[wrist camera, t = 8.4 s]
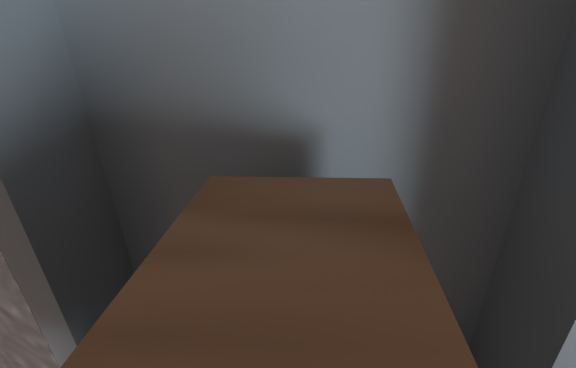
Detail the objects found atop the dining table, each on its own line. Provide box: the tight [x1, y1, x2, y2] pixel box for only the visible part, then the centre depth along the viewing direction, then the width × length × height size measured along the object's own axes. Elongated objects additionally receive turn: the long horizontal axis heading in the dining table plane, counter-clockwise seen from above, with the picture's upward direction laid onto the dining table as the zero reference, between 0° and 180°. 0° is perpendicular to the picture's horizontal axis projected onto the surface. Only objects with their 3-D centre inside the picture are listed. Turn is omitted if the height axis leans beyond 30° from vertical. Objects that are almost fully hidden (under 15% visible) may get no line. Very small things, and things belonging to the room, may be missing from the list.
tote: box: [0, 0, 576, 368], centre depth 9 cm, size 24×16×4 cm, turn 2°
